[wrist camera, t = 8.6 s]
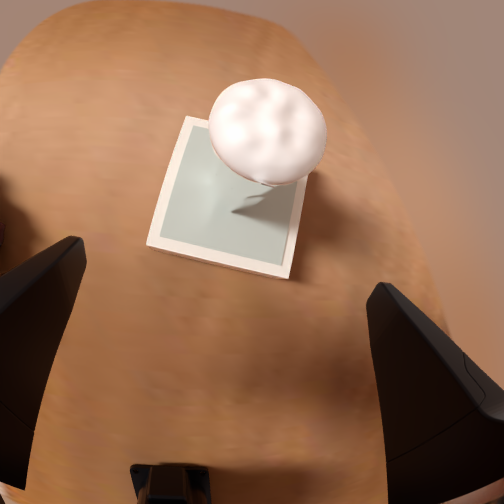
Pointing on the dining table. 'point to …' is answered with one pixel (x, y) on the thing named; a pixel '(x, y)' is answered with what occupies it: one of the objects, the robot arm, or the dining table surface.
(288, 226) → the tile base
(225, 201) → the milkshake
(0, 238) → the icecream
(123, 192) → the dining table surface
